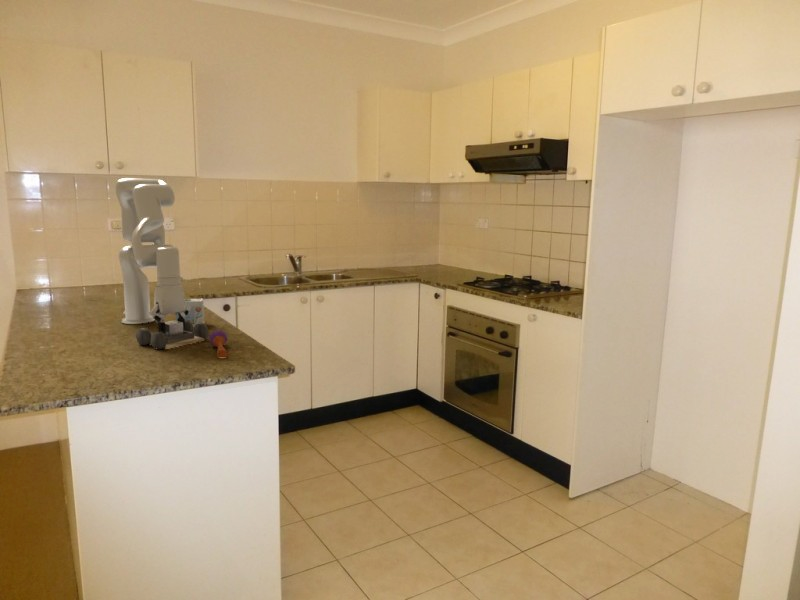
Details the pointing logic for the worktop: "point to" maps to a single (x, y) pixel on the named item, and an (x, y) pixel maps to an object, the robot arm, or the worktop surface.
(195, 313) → the light bulb box
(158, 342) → the chassis board
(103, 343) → the worktop surface
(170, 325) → the grey cube
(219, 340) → the purple maraca
